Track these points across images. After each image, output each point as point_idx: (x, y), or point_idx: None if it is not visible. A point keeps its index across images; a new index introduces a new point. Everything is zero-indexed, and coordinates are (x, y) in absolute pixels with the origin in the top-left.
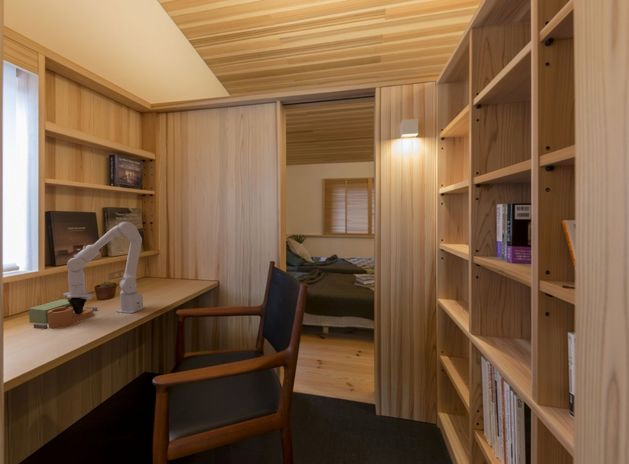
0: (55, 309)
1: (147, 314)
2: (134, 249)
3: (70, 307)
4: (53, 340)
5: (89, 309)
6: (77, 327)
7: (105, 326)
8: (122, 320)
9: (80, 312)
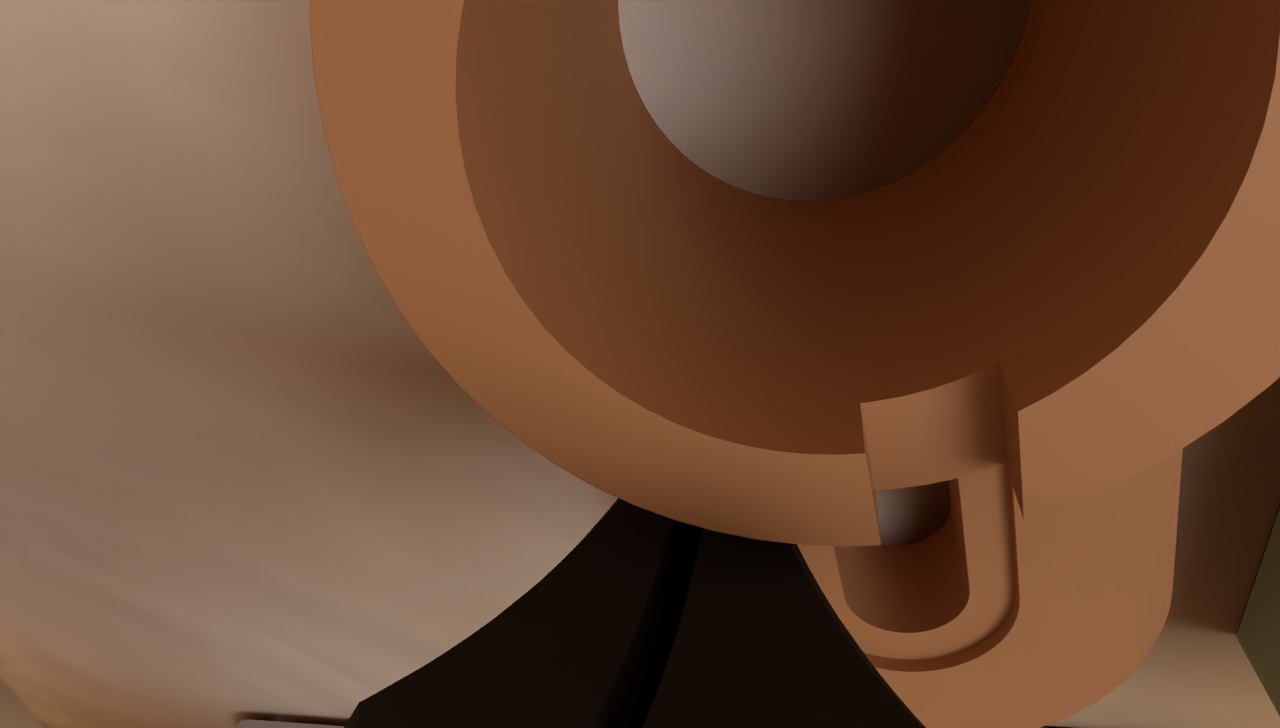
0: (1260, 93)
1: (48, 715)
2: None
3: (714, 474)
4: None
5: None
6: (217, 45)
7: None
8: (20, 522)
9: None
